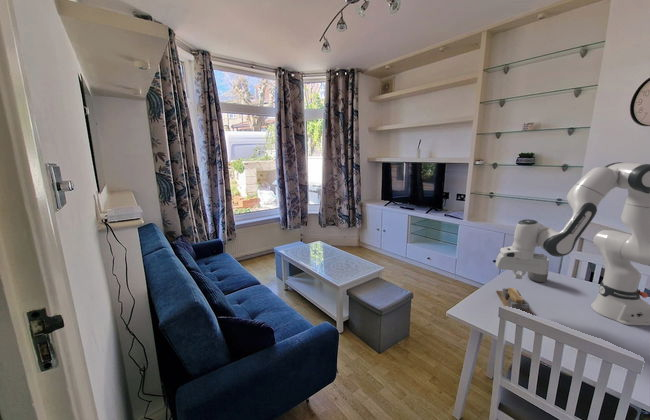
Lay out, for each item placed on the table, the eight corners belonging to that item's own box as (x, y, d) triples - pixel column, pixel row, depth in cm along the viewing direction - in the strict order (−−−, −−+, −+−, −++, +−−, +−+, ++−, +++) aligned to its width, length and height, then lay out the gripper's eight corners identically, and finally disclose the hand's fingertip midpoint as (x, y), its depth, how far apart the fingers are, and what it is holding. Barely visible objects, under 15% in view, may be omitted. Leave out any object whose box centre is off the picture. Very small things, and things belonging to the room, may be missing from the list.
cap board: (517, 294, 145) (518, 287, 144) (533, 317, 126) (534, 309, 125) (496, 292, 148) (497, 284, 146) (508, 314, 129) (510, 306, 128)
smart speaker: (530, 274, 165) (534, 253, 162) (548, 280, 158) (553, 258, 154) (524, 279, 160) (528, 257, 156) (543, 285, 153) (547, 263, 149)
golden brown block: (513, 296, 141) (514, 288, 140) (521, 309, 131) (523, 300, 130) (506, 296, 142) (508, 287, 141) (514, 308, 132) (516, 299, 131)
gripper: (544, 251, 130) (539, 277, 133) (496, 248, 135) (492, 272, 139) (551, 257, 124) (545, 284, 127) (500, 253, 130) (496, 278, 133)
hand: (517, 278), depth 133 cm, fingers closed
